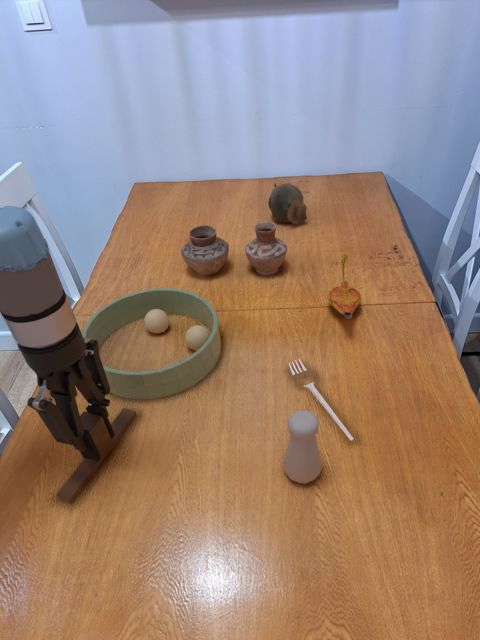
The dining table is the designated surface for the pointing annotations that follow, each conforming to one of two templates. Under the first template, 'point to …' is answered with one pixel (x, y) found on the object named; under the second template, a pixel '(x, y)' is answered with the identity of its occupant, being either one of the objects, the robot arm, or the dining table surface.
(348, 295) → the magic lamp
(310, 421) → the salt shaker
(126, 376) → the green ring
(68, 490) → the brown inverted t block
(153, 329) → the dough ball
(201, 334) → the dough ball
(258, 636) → the dining table surface
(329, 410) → the fork
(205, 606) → the dining table surface
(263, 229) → the pair of painted pots
